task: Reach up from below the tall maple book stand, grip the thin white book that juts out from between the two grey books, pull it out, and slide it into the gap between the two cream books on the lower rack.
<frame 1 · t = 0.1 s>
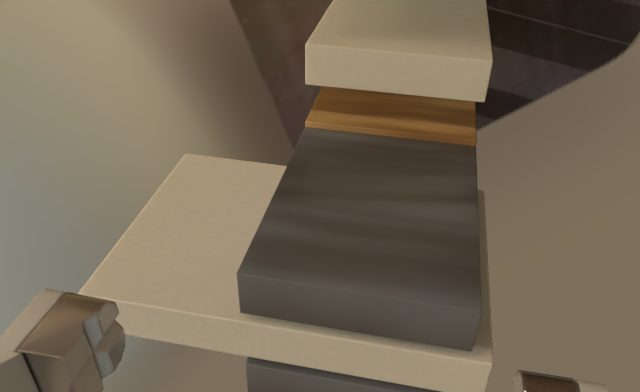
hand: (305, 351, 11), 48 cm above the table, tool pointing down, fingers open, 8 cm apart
white book: (328, 186, 36), point 26 cm above the table, touching book stand
book stand: (412, 46, 56), on the table
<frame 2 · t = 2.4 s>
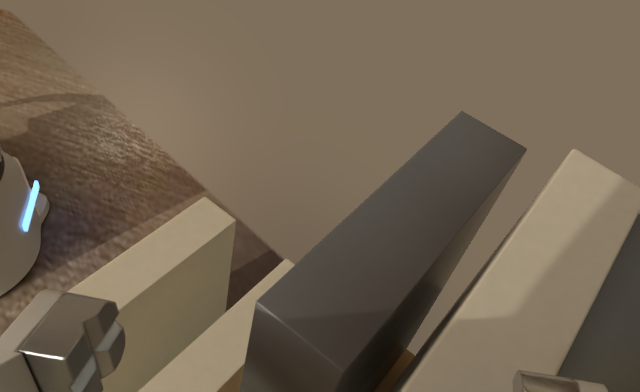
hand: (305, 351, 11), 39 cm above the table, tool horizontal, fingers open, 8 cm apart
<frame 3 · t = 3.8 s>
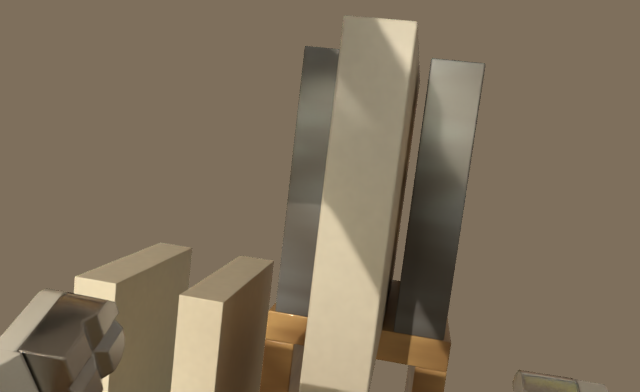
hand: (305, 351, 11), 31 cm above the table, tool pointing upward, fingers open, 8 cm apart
white book: (360, 316, 29), point 26 cm above the table, touching book stand
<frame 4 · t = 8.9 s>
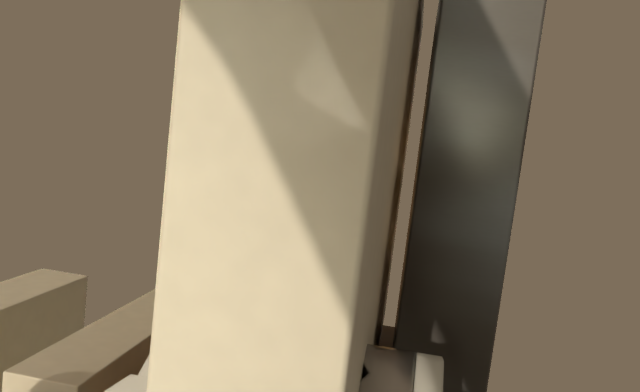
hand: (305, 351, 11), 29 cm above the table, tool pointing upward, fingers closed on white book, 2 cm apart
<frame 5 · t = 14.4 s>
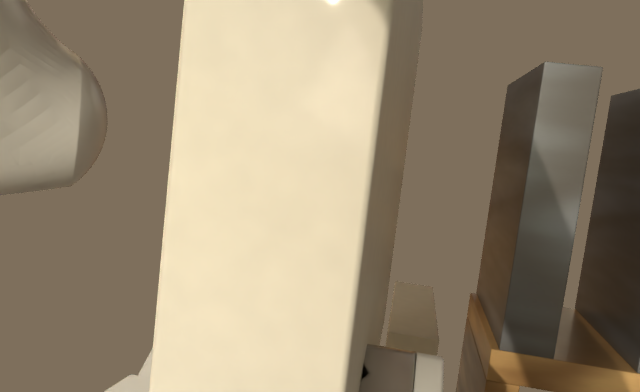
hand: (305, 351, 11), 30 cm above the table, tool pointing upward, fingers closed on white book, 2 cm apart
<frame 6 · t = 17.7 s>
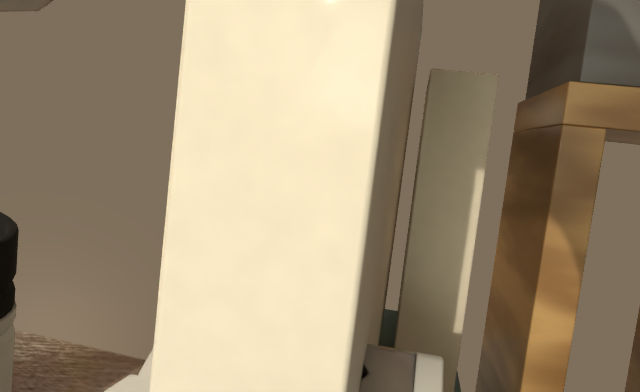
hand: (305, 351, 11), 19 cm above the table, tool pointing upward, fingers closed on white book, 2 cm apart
when the fingers open (17 cm above the table, at t = 20.2 s): white book stays where it is, resting on lower rack.
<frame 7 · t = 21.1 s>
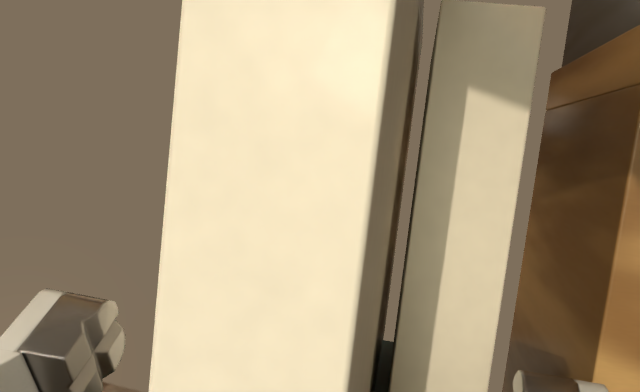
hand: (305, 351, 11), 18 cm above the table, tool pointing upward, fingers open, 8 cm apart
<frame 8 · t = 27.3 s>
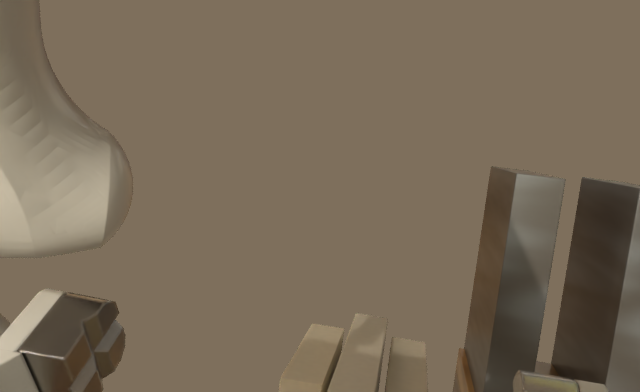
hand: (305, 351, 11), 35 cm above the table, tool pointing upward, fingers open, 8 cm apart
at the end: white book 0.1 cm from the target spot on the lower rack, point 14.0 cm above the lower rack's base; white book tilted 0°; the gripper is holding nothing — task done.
